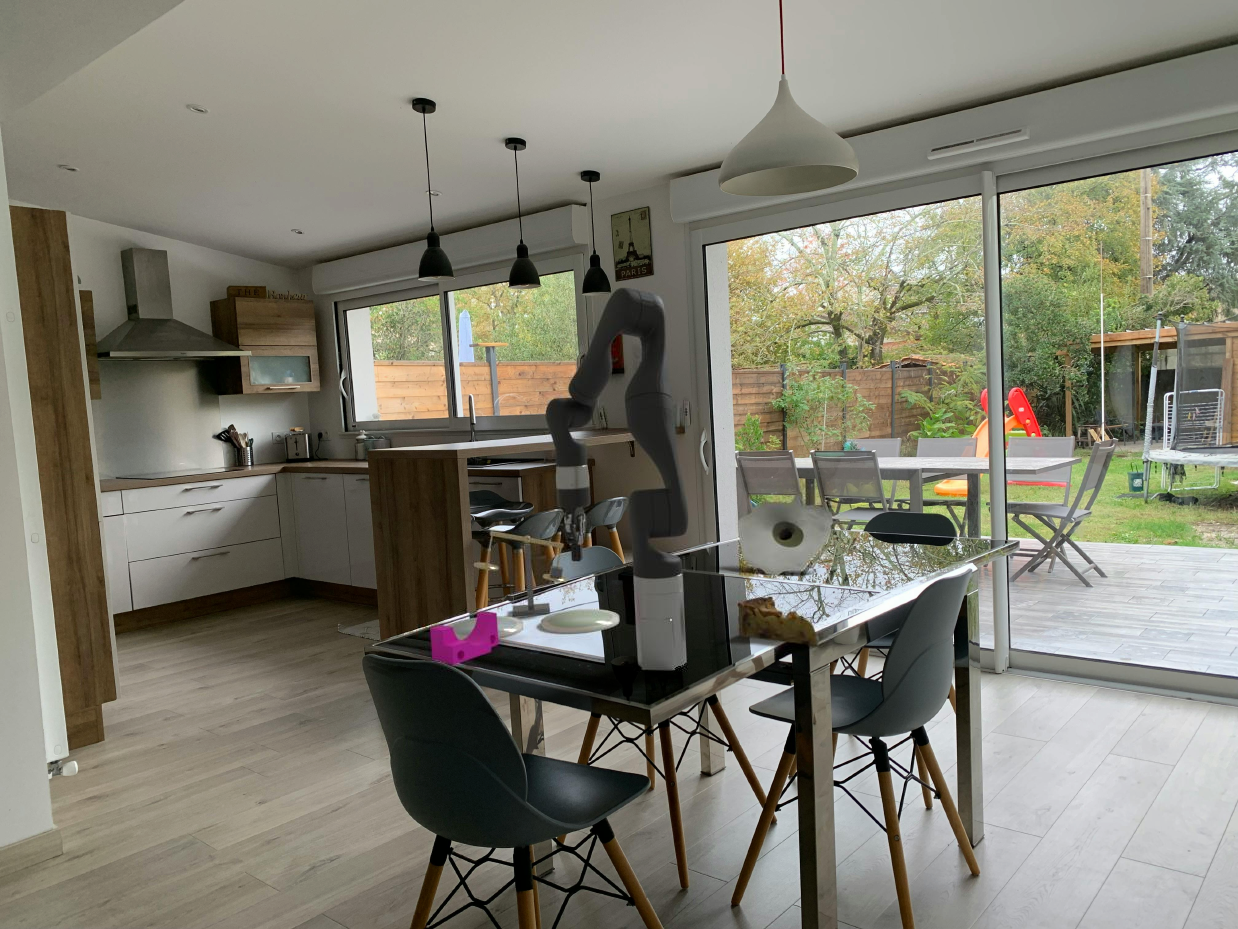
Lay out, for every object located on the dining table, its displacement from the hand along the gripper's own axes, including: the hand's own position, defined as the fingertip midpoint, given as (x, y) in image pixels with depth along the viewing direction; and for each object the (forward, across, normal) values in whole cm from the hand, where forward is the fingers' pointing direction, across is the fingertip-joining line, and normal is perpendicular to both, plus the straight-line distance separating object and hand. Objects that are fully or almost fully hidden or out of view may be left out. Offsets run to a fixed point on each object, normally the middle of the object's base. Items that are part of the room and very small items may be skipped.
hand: (577, 560), depth 201 cm
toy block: (+15, -25, +16) cm, 34 cm away
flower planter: (+9, +66, -57) cm, 87 cm away
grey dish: (+15, -8, +21) cm, 27 cm away
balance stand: (+15, +10, +16) cm, 24 cm away
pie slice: (+15, -12, -46) cm, 50 cm away
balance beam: (-3, +10, +16) cm, 19 cm away
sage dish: (+15, 0, 0) cm, 15 cm away
